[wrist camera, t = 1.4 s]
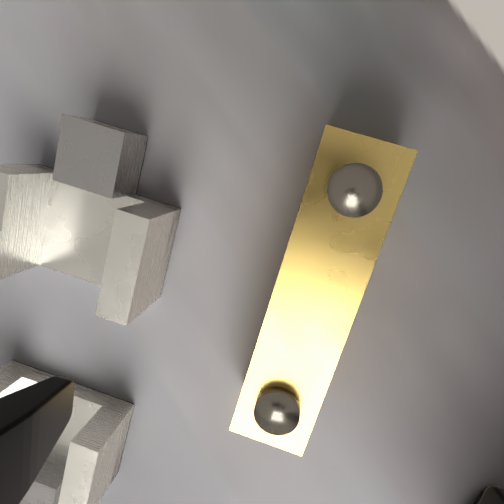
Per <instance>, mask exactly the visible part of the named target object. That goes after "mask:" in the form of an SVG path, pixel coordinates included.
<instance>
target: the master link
mask: <svg viewBox="0 0 504 504" xmlns="http://www.w3.org/2000/svg"><path fill="white" fill-rule="evenodd" d="M417 152H418V150H414V149H411V148H407V147H404V146H400V145H397V144H393V143H390V142H386V141H383V140H379V139H376V138H372V137H369V136H365V135H362V134H358V133H354V132H351V131H347V130H344V129H340V128H337V127H333V126H330V125H326V126H325V129H324V132H323V135H322V138H321V141H320V145H319V148H318V151H317V154H316V157H315V160H314V163H313V167H312V170H311V173H310V176H309V179H308V182H307V186H306V189H305V192H304V195H303V198H302V201H301V205H300V208H299V211H298V214H297V217H296V220H295V224H294V227H293V230H292V233H291V236H290V239H289V242H288V246H287V249H286V252H285V255H284V258H283V261H282V265H281V268H280V271H279V274H278V277H277V280H276V284H275V287H274V290H273V293H272V296H271V299H270V303H269V306H268V309H267V312H266V315H265V318H264V321H263V325H262V328H261V331H260V334H259V337H258V340H257V344H256V347H255V350H254V353H253V356H252V359H251V363H250V366H249V369H248V372H247V375H246V378H245V382H244V385H243V388H242V391H241V394H240V397H239V400H238V404H237V407H236V410H235V413H234V416H233V419H232V423H231V426H230V429H229V430H230V431H233V432H236V433H239V434H241V435H244V436H247V437H250V438H252V439H255V440H258V441H261V442H263V443H266V444H269V445H272V446H274V447H277V448H280V449H283V450H285V451H288V452H291V453H294V454H297V455H299V456H302V455H303V452H304V449H305V447H306V444H307V442H308V439H309V436H310V434H311V431H312V428H313V426H314V423H315V421H316V418H317V415H318V413H319V410H320V407H321V405H322V402H323V399H324V397H325V394H326V392H327V389H328V386H329V384H330V381H331V378H332V376H333V373H334V371H335V368H336V365H337V363H338V360H339V357H340V355H341V352H342V349H343V347H344V344H345V342H346V339H347V336H348V334H349V331H350V328H351V326H352V323H353V320H354V318H355V315H356V313H357V310H358V307H359V305H360V302H361V299H362V297H363V294H364V292H365V289H366V286H367V284H368V281H369V278H370V276H371V273H372V270H373V268H374V265H375V263H376V260H377V257H378V255H379V252H380V249H381V247H382V244H383V241H384V239H385V236H386V234H387V231H388V228H389V226H390V223H391V220H392V218H393V215H394V213H395V210H396V207H397V205H398V202H399V199H400V197H401V194H402V191H403V189H404V186H405V184H406V181H407V178H408V176H409V173H410V170H411V168H412V165H413V162H414V160H415V157H416V155H417Z"/></svg>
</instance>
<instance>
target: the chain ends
mask: <svg viewBox="0 0 504 504" xmlns="http://www.w3.org/2000/svg"><path fill="white" fill-rule="evenodd" d="M147 139H148V136H145V135H142V134H138V133H135V132H132V131H128V130H125V129H122V128H118V127H115V126H112V125H108V124H105V123H102V122H98V121H95V120H91V119H86V118H81V117H75V116H70V115H65V114H62V119H61V126H60V132H59V139H58V145H57V152H56V159H55V165H54V169H53V168H50V167H46V166H43V165H40V164H13V165H0V279H2V278H5V277H8V276H10V275H13V274H16V273H19V272H21V271H24V270H27V269H30V268H32V267H35V266H38V265H41V266H44V267H47V268H50V269H53V270H56V271H59V272H62V273H65V274H68V275H71V276H74V277H76V278H79V279H82V280H85V281H88V282H91V283H94V284H97V285H100V286H101V288H100V294H99V299H98V304H97V309H96V314H95V316H98V317H101V318H104V319H107V320H110V321H113V322H116V323H119V324H121V325H124V326H127V325H128V324H129V323H130V322H131V321H133V320H134V319H135V318H136V317H137V316H138V315H140V314H141V313H142V312H143V311H144V310H145V309H147V308H148V307H149V306H150V305H151V304H152V303H154V302H155V301H156V300H157V299H158V298H159V297H160V295H161V291H162V287H163V282H164V278H165V274H166V270H167V266H168V262H169V257H170V253H171V249H172V245H173V241H174V237H175V232H176V228H177V224H178V220H179V216H180V211H181V209H180V208H177V207H174V206H170V205H167V204H164V203H161V202H158V201H155V200H151V199H148V198H145V197H142V196H139V195H136V192H137V187H138V182H139V177H140V172H141V168H142V163H143V158H144V153H145V148H146V144H147ZM53 376H54V375H51V374H49V373H46V372H43V371H40V370H38V369H35V368H32V367H29V366H27V365H24V364H21V363H18V362H16V361H13V360H11V361H10V362H8V363H6V364H5V365H3V366H2V367H0V398H1V397H3V396H6V395H8V394H11V393H13V392H16V391H18V390H21V389H23V388H26V387H28V386H30V385H33V384H35V383H38V382H40V381H43V380H45V379H48V378H50V377H53ZM74 384H75V389H74V400H73V410H72V415H71V418H70V420H69V422H68V424H67V426H66V428H65V429H64V431H63V433H62V434H61V436H60V438H59V440H58V441H57V443H56V445H55V446H54V448H53V450H52V452H51V453H50V455H49V457H48V458H47V460H46V462H45V464H44V465H43V467H42V469H41V470H40V472H39V474H38V476H37V477H36V479H35V481H34V482H33V484H32V486H31V487H30V489H29V490H28V492H27V493H26V495H25V496H24V498H23V499H22V501H21V502H20V503H19V504H98V503H99V501H100V499H101V498H102V496H103V495H104V493H105V492H106V490H107V489H108V487H109V485H110V484H111V482H112V481H113V479H114V478H115V476H116V475H117V473H118V470H119V466H120V462H121V458H122V454H123V449H124V445H125V441H126V437H127V433H128V429H129V424H130V420H131V416H132V412H133V408H134V404H131V403H128V402H126V401H123V400H120V399H117V398H115V397H112V396H109V395H106V394H104V393H101V392H98V391H95V390H93V389H90V388H87V387H84V386H82V385H79V384H76V383H74Z"/></svg>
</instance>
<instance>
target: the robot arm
mask: <svg viewBox="0 0 504 504" xmlns="http://www.w3.org/2000/svg"><path fill="white" fill-rule="evenodd" d="M74 389H75V384H74V381H73V380H72V379H69V378H65V377H61V376H53V377H50V378H48V379H45V380H43V381H40V382H38V383H35V384H33V385H30V386H28V387H26V388H23V389H21V390H18V391H16V392H13V393H11V394H8V395H6V396H3V397H1V398H0V504H19V503H20V502H21V501H22V499H23V498H24V496H25V495H26V493H27V492H28V490H29V489H30V487H31V486H32V484H33V482H34V481H35V479H36V477H37V476H38V474H39V472H40V470H41V469H42V467H43V465H44V464H45V462H46V460H47V458H48V457H49V455H50V453H51V452H52V450H53V448H54V446H55V445H56V443H57V441H58V440H59V438H60V436H61V434H62V433H63V431H64V429H65V428H66V426H67V424H68V422H69V420H70V418H71V415H72V410H73V400H74ZM475 504H504V487H500V486H496V485H490V486H488V487H487V488H486V490H485V491H483V492H481V494H480V495H479V497H478V499H477V500H476V502H475Z"/></svg>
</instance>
